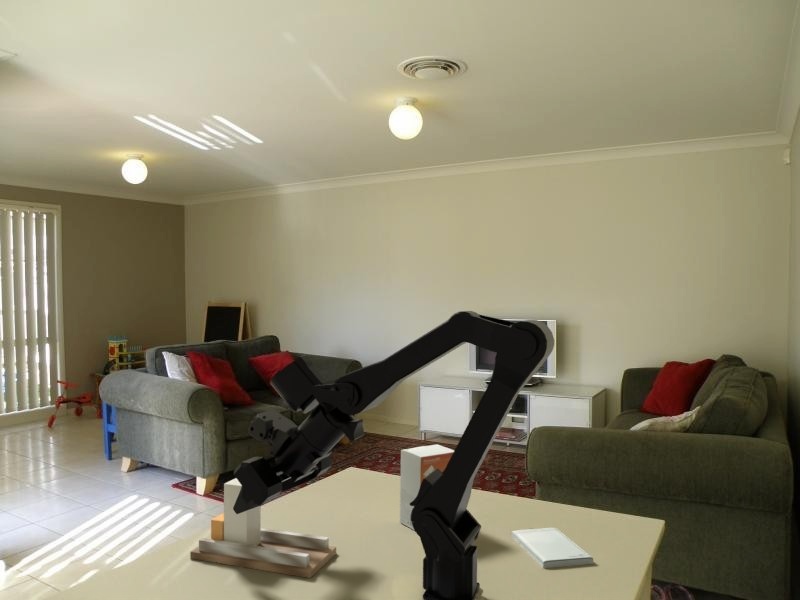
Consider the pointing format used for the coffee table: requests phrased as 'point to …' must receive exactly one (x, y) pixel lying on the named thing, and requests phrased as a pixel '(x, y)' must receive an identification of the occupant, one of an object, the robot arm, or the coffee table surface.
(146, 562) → the coffee table surface
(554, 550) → the hard drive
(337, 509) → the coffee table surface
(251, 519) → the block
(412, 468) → the small box
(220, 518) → the block
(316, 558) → the rail board
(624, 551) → the coffee table surface
